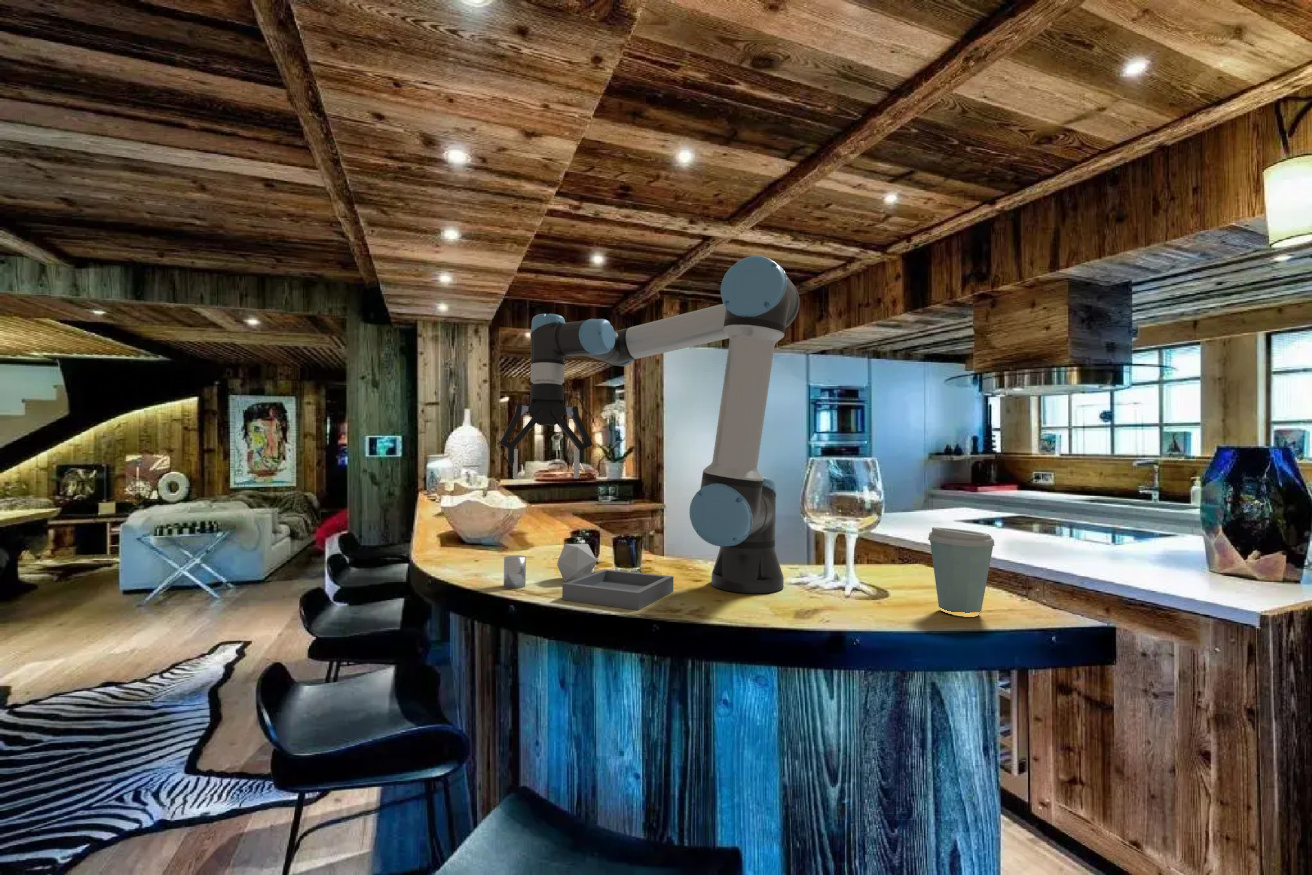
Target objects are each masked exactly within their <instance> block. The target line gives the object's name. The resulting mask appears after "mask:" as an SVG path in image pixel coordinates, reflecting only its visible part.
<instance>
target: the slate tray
mask: <svg viewBox="0 0 1312 875" xmlns="http://www.w3.org/2000/svg"><path fill="white" fill-rule="evenodd" d="M561 585H562V588H561V589H562V593H561V596H562V597H561V598H562V601H569V602H577V603H582V604H583V603H584V604H591V605H598V606H605V607H613V608H614V607H615V608H619V609H620V608H621V609H627V610H628V609H629V610H637V611H639V610H642V609H644V608H645V607H647V606H649V605H650V604H652V603H653V604H654V602H656V601H658V600H660V599H662V598H664V597H665V596H667V595H669V594H671V593H673V592H674V576H673V575H662V574H654V573H646V572H645V573H644V572H636V571H635V572H633V571H625V570H617V569H615V570H614V569H606V568H603V569H601V570H599V571H598V570H597V571H596V572H592V573H591V574H589V575H586V576H583V577H580V578H578V579H575V580H572V581H569V582H564V583H562V584H561Z"/></svg>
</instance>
